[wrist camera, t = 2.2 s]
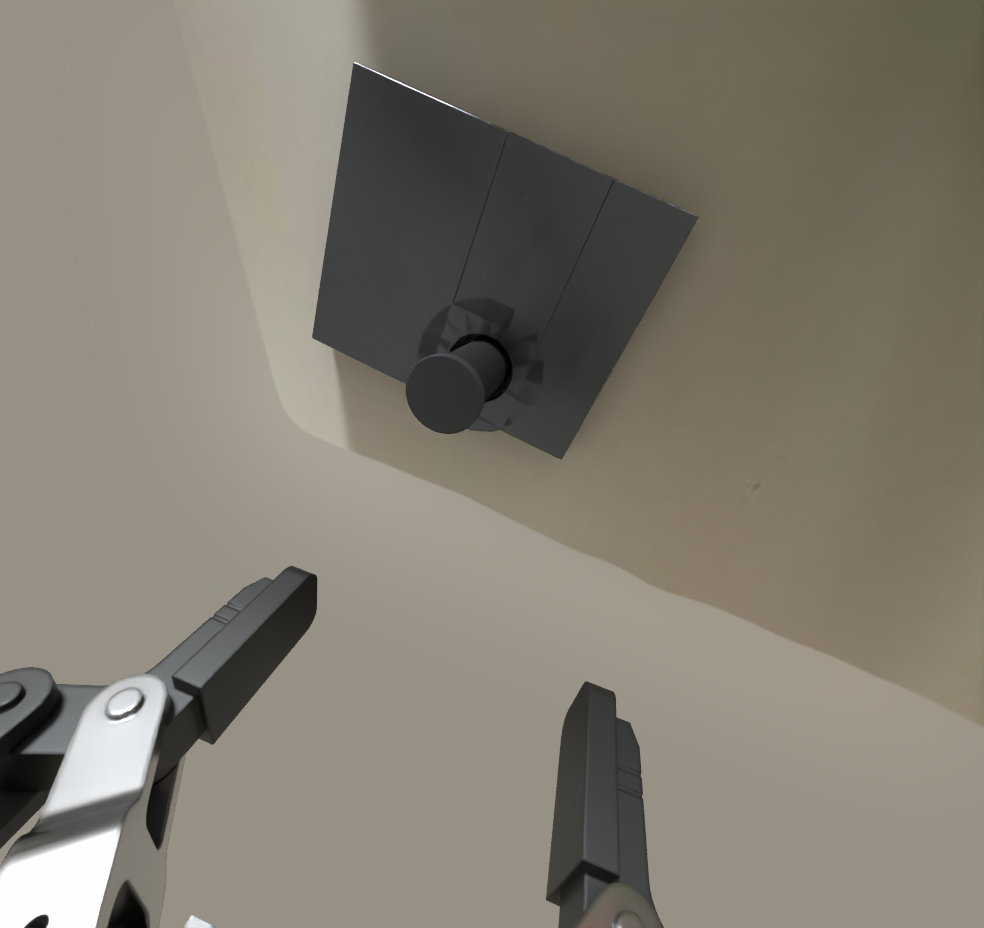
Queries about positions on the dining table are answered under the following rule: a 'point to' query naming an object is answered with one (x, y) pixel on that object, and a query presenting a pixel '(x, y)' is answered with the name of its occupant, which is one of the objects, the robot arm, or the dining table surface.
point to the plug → (456, 384)
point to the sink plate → (486, 256)
